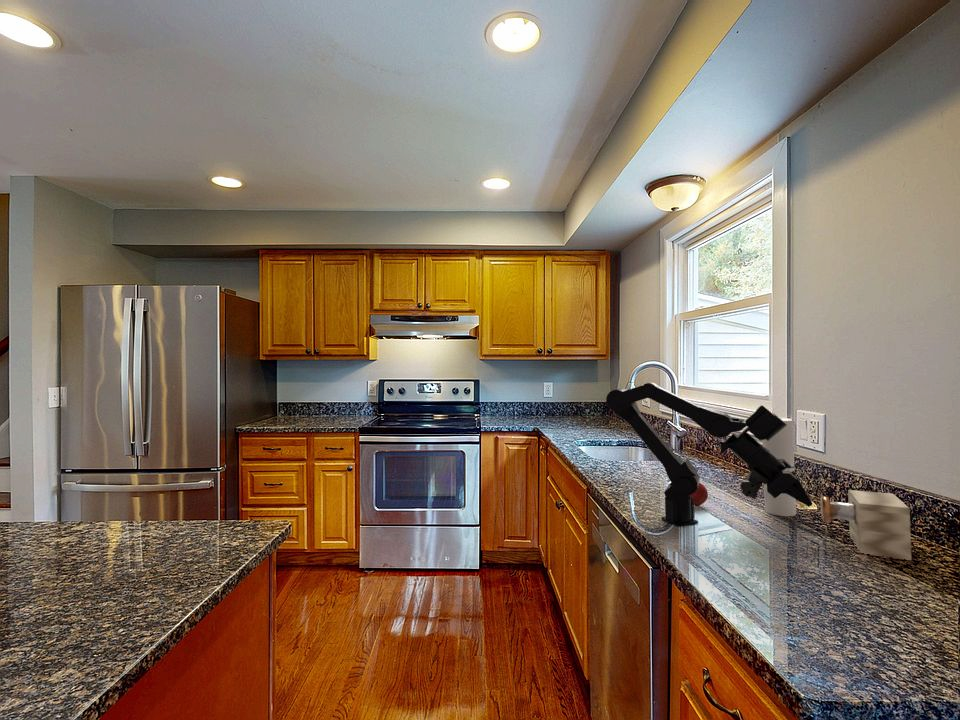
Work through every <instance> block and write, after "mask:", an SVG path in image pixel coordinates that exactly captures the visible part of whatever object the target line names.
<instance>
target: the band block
mask: <svg viewBox="0 0 960 720" xmlns="http://www.w3.org/2000/svg"><path fill="white" fill-rule="evenodd" d="M847 494H848V496H847V497H848V503H851V504H855V505H856V521H853V520H848V521H849V522H848V523H849V525H848V526H849V536H850V538H851V540H852V541H853V543H854V545H855V544H856V545H855V546H856V548H857V549H858V551H859V552H861V553H864V554H863V555H867V554H870V555H869V556H876V557H882V556H885V558H889V557H893V558H892V559H897V558H899V559H898V560H904V559H905V560H907V561H912V541H911V540H912V539H911V515H910V507H909V506H908V505H906V504H905V503H904V502H903V501H902V500H901V499H900V498H898V497H897V496H896V495H895V494H894V493H890V492H889V493H888V492H876V491H867V490H866V491H865V490H856V489H853V490H851V489H847ZM861 553H860V554H861Z"/></svg>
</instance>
